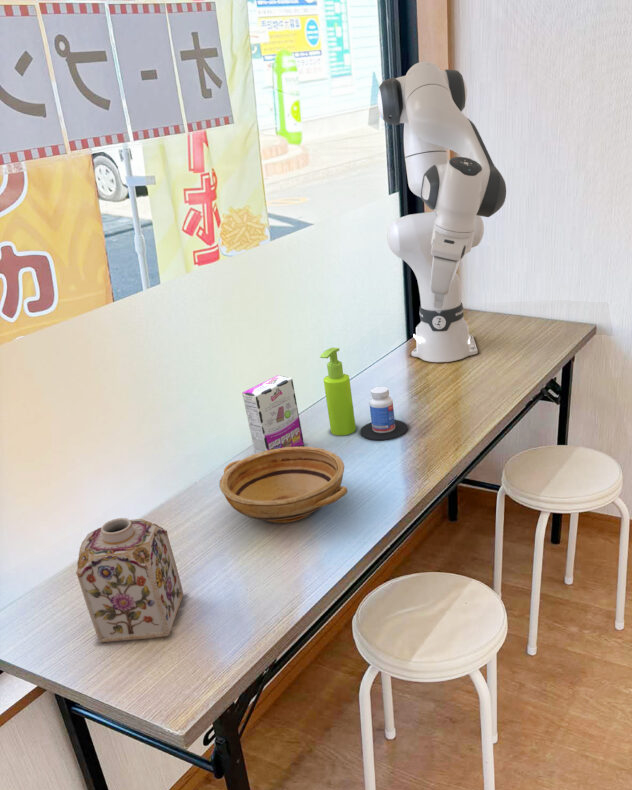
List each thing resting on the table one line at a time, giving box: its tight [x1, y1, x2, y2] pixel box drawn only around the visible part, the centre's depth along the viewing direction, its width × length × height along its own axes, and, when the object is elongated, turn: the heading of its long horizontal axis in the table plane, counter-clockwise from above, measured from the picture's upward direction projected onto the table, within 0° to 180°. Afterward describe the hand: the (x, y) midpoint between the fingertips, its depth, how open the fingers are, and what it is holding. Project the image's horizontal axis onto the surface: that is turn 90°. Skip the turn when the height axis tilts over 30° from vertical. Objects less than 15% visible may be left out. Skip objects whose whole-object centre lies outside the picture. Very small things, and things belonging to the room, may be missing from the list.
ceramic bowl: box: [219, 446, 348, 524], centre depth 167 cm, size 30×24×8 cm
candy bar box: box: [241, 375, 305, 454], centre depth 189 cm, size 11×5×16 cm, turn 143°
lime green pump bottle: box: [319, 346, 357, 437], centre depth 195 cm, size 6×7×20 cm
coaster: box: [359, 419, 408, 442], centre depth 198 cm, size 11×11×1 cm
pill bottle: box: [368, 386, 396, 433], centre depth 196 cm, size 6×5×10 cm
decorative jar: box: [75, 517, 184, 644], centre depth 136 cm, size 12×12×18 cm
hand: (441, 299), depth 191 cm, fingers open, 8 cm apart
